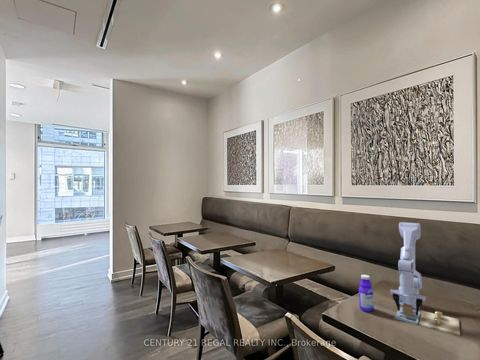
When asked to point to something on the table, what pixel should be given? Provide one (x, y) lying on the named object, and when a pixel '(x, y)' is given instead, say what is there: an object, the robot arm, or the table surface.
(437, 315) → the bosses
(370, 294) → the bottle
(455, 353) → the table surface
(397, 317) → the panel
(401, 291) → the robot arm
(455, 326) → the board
